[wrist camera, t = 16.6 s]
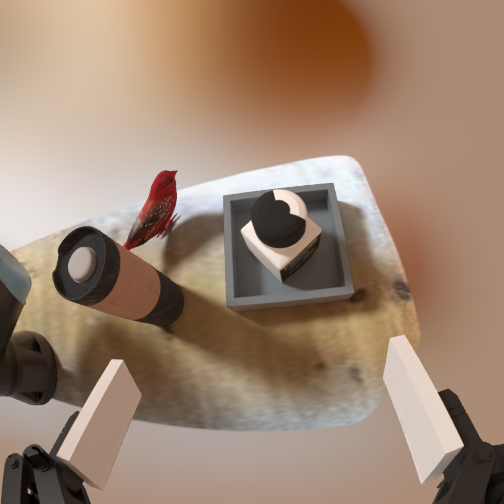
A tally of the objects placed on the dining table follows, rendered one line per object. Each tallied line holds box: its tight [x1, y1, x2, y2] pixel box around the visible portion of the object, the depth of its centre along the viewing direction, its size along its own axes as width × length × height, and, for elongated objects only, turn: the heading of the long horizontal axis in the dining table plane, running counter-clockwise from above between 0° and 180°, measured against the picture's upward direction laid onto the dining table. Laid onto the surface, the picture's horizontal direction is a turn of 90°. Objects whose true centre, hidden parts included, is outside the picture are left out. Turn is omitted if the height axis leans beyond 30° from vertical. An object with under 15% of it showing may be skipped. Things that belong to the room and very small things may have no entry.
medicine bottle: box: [241, 189, 322, 283], centre depth 35 cm, size 7×7×12 cm
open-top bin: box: [223, 183, 354, 312], centre depth 40 cm, size 16×16×4 cm
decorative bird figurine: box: [123, 170, 177, 250], centre depth 41 cm, size 3×18×10 cm, turn 142°
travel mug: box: [52, 226, 184, 325], centre depth 33 cm, size 8×8×20 cm
